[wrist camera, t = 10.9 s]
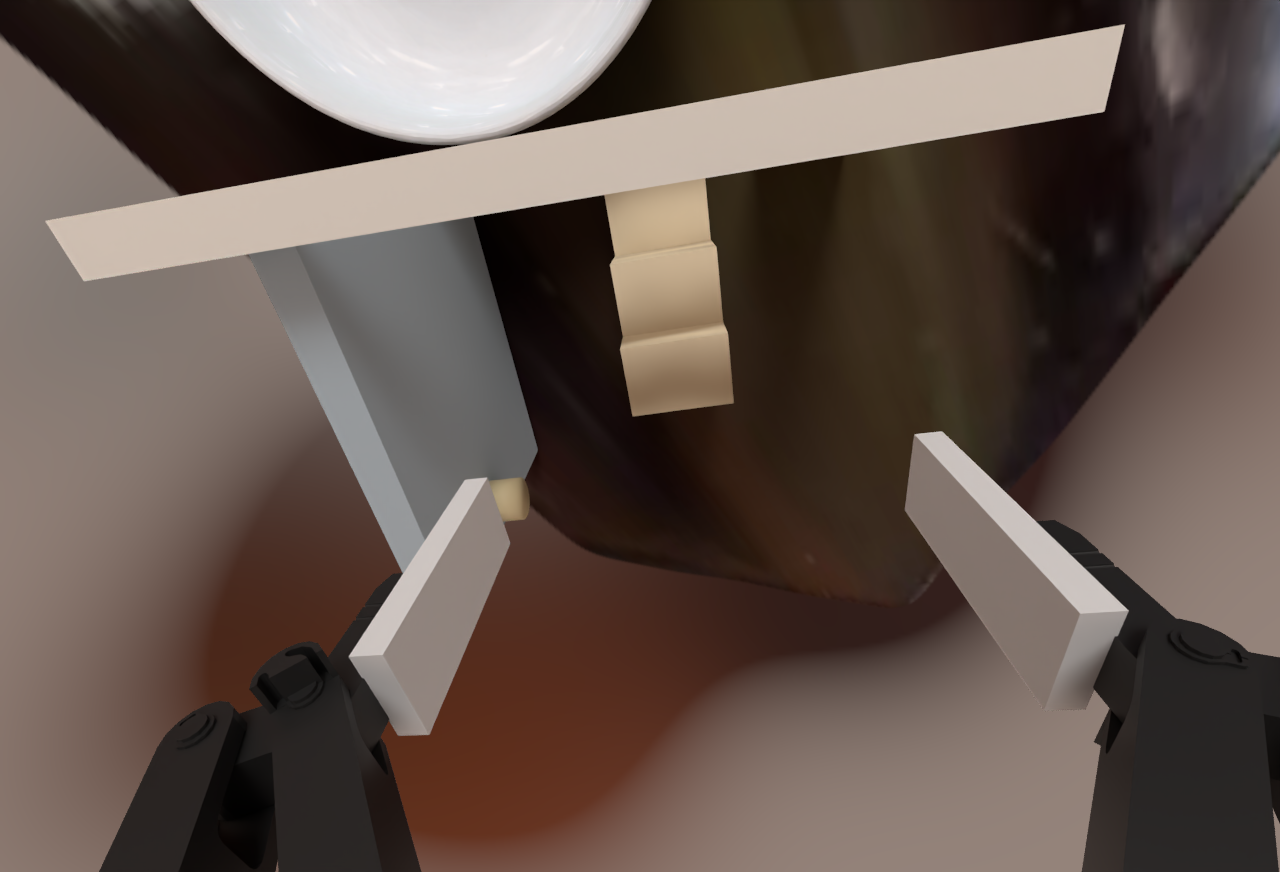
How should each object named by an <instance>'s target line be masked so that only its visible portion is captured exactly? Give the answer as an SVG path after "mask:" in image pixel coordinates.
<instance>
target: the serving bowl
mask: <svg viewBox="0 0 1280 872" xmlns="http://www.w3.org/2000/svg"><path fill="white" fill-rule="evenodd" d="M189 1H190V2H191V3H192V4H193V5H194V7H195V8H196V9H197V10H198V11H199V12H200V13H201V14H202V16H203V17H204V18H205V19H206V20H207V21H208V22H209V23H210V24H211V25H212V26H213V27H214V28H215V29H216V30H217V31H218V32H219V33H220V34H221V35H222V36H223V37H224V38H225V39H226V40H227V41H228V42H229V43H230V44H231V45H232V46H233V47H234V48H235V49H236V50H237V51H238V52H239V53H240V54H241V55H242V56H243V57H245V58H246V59H247V60H248V61H249V62H251V63H252V64H253V65H254V66H255V67H257V68H258V69H259V70H260V71H261V72H263V73H264V74H265V75H266V76H268V77H269V78H270V79H271V80H272V81H274V82H275V83H277V84H278V85H280V86H281V87H282V88H284V89H285V90H287V91H288V92H289V93H291V94H292V95H294V96H295V97H297V98H299V99H300V100H302V101H303V102H305V103H307V104H308V105H310V106H311V107H313V108H315V109H317V110H319V111H321V112H322V113H324V114H326V115H328V116H331V117H333V118H335V119H337V120H339V121H341V122H343V123H345V124H348V125H350V126H352V127H355V128H358V129H360V130H363V131H366V132H369V133H372V134H375V135H379V136H383V137H387V138H391V139H395V140H399V141H404V142H411V143H418V144H428V145H461V144H471V143H476V142H482V141H487V140H493V139H497V138H500V137H504V136H508V135H511V134H513V133H516V132H519V131H521V130H524V129H526V128H528V127H530V126H533V125H535V124H537V123H539V122H540V121H542V120H544V119H546V118H547V117H549V116H551V115H553V114H554V113H556V112H557V111H559V110H560V109H562V108H563V107H565V106H566V105H567V104H569V103H570V102H571V101H573V100H574V99H575V98H577V97H578V96H579V95H580V94H581V93H582V92H584V91H585V90H586V89H587V88H588V87H589V86H590V85H591V84H592V83H593V82H594V81H595V80H596V79H597V78H598V77H599V76H600V75H601V74H602V73H603V72H604V70H605V69H606V68H607V67H608V66H609V65H610V63H611V62H612V61H613V60H614V59H615V57H616V56H617V55H618V53H619V52H620V51H621V49H622V48H623V47H624V45H625V44H626V42H627V41H628V40H629V38H630V37H631V35H632V33H633V32H634V30H635V29H636V27H637V26H638V24H639V22H640V20H641V19H642V17H643V15H644V13H645V12H646V10H647V8H648V6H649V5H650V2H651V0H189Z"/></svg>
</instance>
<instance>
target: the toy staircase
mask: <svg viewBox="0 0 1280 872" xmlns="http://www.w3.org/2000/svg"><path fill="white" fill-rule="evenodd" d="M604 196H605V202H606V207H607V213H608V219H609V224H610V230H611V236H612V241H613V247H614V253H615V257H614V259H613V260H612V262H611V264H610V268H611V274H612V279H613V285H614V290H615V296H616V301H617V307H618V312H619V318H620V323H621V329H622V334H623V339H622V343H621V347H620V351H621V357H622V362H623V367H624V373H625V378H626V383H627V389H628V394H629V399H630V405H631V410H632V415H633V416H640V415H648V414H655V413H663V412H670V411H678V410H685V409H693V408H701V407H708V406H716V405H723V404H731V403H734V401H733V388H732V376H731V364H730V352H729V340H728V332H727V330H726V328H725V325H724V323H723V316H722V304H721V293H720V281H719V270H718V258H717V247H716V246H715V245H714V243H713V242H712V241H711V238H710V227H709V216H708V205H707V194H706V183H705V178H703V179H697V180H691V181H685V182H679V183H673V184H667V185H661V186H655V187H649V188H643V189H636V190H630V191H624V192H618V193H612V194H606V195H604Z"/></svg>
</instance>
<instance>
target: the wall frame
mask: <svg viewBox="0 0 1280 872" xmlns="http://www.w3.org/2000/svg"><path fill="white" fill-rule="evenodd" d="M1124 26H1125V24H1124V25H1119V26H1113V27H1108V28H1102V29H1097V30H1091V31H1086V32H1080V33H1075V34H1069V35H1064V36H1058V37H1053V38H1047V39H1042V40H1036V41H1031V42H1025V43H1020V44H1015V45H1009V46H1004V47H998V48H993V49H987V50H982V51H976V52H971V53H965V54H960V55H954V56H949V57H943V58H938V59H932V60H927V61H921V62H916V63H910V64H905V65H899V66H894V67H888V68H883V69H877V70H872V71H866V72H861V73H855V74H850V75H844V76H839V77H833V78H828V79H822V80H817V81H811V82H806V83H800V84H795V85H789V86H784V87H778V88H773V89H767V90H762V91H756V92H751V93H745V94H740V95H734V96H729V97H723V98H718V99H712V100H707V101H701V102H696V103H690V104H685V105H679V106H674V107H668V108H663V109H657V110H652V111H646V112H641V113H635V114H630V115H624V116H619V117H614V118H608V119H603V120H597V121H592V122H586V123H581V124H575V125H570V126H564V127H559V128H553V129H548V130H542V131H537V132H531V133H526V134H520V135H515V136H509V137H504V138H498V139H493V140H487V141H482V142H476V143H471V144H465V145H460V146H454V147H449V148H443V149H438V150H432V151H427V152H421V153H416V154H410V155H405V156H399V157H394V158H388V159H383V160H377V161H372V162H366V163H361V164H355V165H350V166H344V167H339V168H333V169H328V170H322V171H317V172H311V173H306V174H300V175H295V176H289V177H284V178H278V179H273V180H267V181H262V182H256V183H251V184H245V185H240V186H234V187H229V188H224V189H218V190H213V191H207V192H202V193H196V194H191V195H185V196H180V197H174V198H169V199H163V200H158V201H152V202H147V203H141V204H136V205H130V206H125V207H119V208H114V209H108V210H103V211H97V212H92V213H86V214H81V215H75V216H70V217H64V218H59V219H53V220H49V221H45V222H46V223H47V225H48V226H49V228H50V229H51V231H52V232H53V234H54V236H55V237H56V239H57V240H58V242H59V243H60V245H61V247H62V248H63V250H64V251H65V253H66V254H67V256H68V257H69V259H70V261H71V262H72V264H73V265H74V267H75V268H76V270H77V271H78V273H79V274H80V276H81V278H82V279H83V281H88V280H95V279H100V278H106V277H113V276H119V275H124V274H131V273H137V272H143V271H149V270H155V269H161V268H167V267H173V266H179V265H185V264H191V263H197V262H203V261H209V260H215V259H221V258H227V257H233V256H239V255H245V254H251V253H257V252H263V251H269V250H275V249H281V248H287V247H293V246H299V245H305V244H312V243H318V242H324V241H330V240H336V239H342V238H348V237H354V236H360V235H366V234H372V233H378V232H384V231H390V230H396V229H402V228H408V227H414V226H420V225H426V224H432V223H438V222H444V221H450V220H456V219H462V218H468V217H474V216H480V215H486V214H492V213H498V212H504V211H510V210H516V209H522V208H528V207H534V206H540V205H546V204H552V203H558V202H564V201H570V200H576V199H582V198H588V197H594V196H600V195H606V194H612V193H618V192H624V191H630V190H636V189H643V188H649V187H655V186H661V185H667V184H673V183H679V182H685V181H691V180H697V179H703V178H709V177H715V176H721V175H727V174H733V173H739V172H745V171H751V170H757V169H763V168H769V167H775V166H781V165H787V164H793V163H799V162H805V161H811V160H817V159H823V158H829V157H835V156H841V155H847V154H853V153H859V152H865V151H871V150H877V149H883V148H889V147H895V146H901V145H907V144H913V143H919V142H925V141H931V140H937V139H943V138H949V137H955V136H961V135H968V134H974V133H980V132H986V131H992V130H998V129H1004V128H1010V127H1016V126H1022V125H1028V124H1034V123H1040V122H1046V121H1052V120H1058V119H1064V118H1070V117H1076V116H1082V115H1088V114H1094V113H1100V112H1104V111H1105V107H1106V102H1107V98H1108V94H1109V90H1110V86H1111V81H1112V77H1113V73H1114V69H1115V64H1116V60H1117V56H1118V52H1119V48H1120V43H1121V39H1122V35H1123V31H1124Z"/></svg>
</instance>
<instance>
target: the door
mask: <svg viewBox="0 0 1280 872" xmlns="http://www.w3.org/2000/svg"><path fill="white" fill-rule="evenodd" d="M249 256H250V259H251V261H252V263H253V265H254V267H255V269H256V271H257V273H258V275H259V277H260V279H261V281H262V283H263V285H264V287H265V289H266V291H267V294H268V296H269V298H270V300H271V302H272V304H273V306H274V308H275V310H276V312H277V314H278V316H279V318H280V320H281V322H282V325H283V327H284V329H285V331H286V333H287V335H288V337H289V339H290V341H291V343H292V345H293V347H294V349H295V351H296V354H297V356H298V358H299V360H300V362H301V364H302V366H303V368H304V370H305V372H306V374H307V376H308V378H309V380H310V382H311V385H312V387H313V389H314V391H315V393H316V395H317V396H318V399H319V401H320V403H321V405H322V407H323V409H324V411H325V413H326V415H327V418H328V419H329V422H330V424H331V426H332V428H333V430H334V432H335V434H336V436H337V438H338V440H339V442H340V444H341V446H342V448H343V451H344V453H345V454H346V457H347V459H348V461H349V463H350V465H351V467H352V469H353V471H354V473H355V475H356V477H357V479H358V482H359V484H360V486H361V488H362V490H363V492H364V494H365V496H366V498H367V500H368V502H369V504H370V506H371V508H372V510H373V512H374V515H375V516H376V518H377V521H378V523H379V525H380V527H381V529H382V531H383V533H384V535H385V537H386V539H387V541H388V543H389V545H390V548H391V550H392V552H393V554H394V556H395V558H396V560H397V562H398V564H399V566H400V568H401V570H402V572H403V573H404V572H405V570H406V569H407V567H408V566H409V564H410V563H411V561H412V560H413V558H414V556H415V555H416V553H417V552H418V550H419V549H420V547H421V546H422V544H423V543H424V541H425V540H426V538H427V537H428V535H429V534H430V532H431V531H432V529H433V528H434V526H435V525H436V523H437V522H438V520H439V519H440V517H441V515H442V514H443V512H444V511H445V509H446V508H447V506H448V505H449V503H450V502H451V500H452V499H453V497H454V496H455V494H456V493H457V491H458V490H459V488H460V487H461V485H462V484H463V482H464V481H465V480H467V479H477V478H488V480H489V483H490V486H491V489H492V492H493V495H494V498H495V501H496V503H497V506H498V509H499V512H500V515H501V518H502V521H503V523H504V524H505V522H506V521H513V520H524V519H526V518H527V516H528V513H529V507H530V498H529V491H528V487H527V484H526V482H525V478H526V476H527V473H528V471H529V469H530V467H531V465H532V462H533V460H534V458H535V456H536V454H537V451H538V448H537V445H536V441H535V438H534V434H533V430H532V427H531V423H530V420H529V416H528V412H527V409H526V405H525V402H524V398H523V394H522V391H521V387H520V384H519V380H518V376H517V373H516V369H515V366H514V362H513V358H512V355H511V351H510V348H509V344H508V340H507V337H506V333H505V330H504V326H503V322H502V319H501V315H500V312H499V308H498V304H497V301H496V297H495V294H494V290H493V287H492V283H491V279H490V276H489V272H488V269H487V265H486V261H485V258H484V254H483V251H482V247H481V243H480V240H479V236H478V233H477V229H476V225H475V222H474V218H473V217H468V218H462V219H456V220H450V221H444V222H438V223H432V224H426V225H420V226H414V227H408V228H402V229H396V230H390V231H384V232H378V233H372V234H366V235H360V236H354V237H348V238H342V239H336V240H330V241H324V242H318V243H312V244H305V245H299V246H293V247H287V248H281V249H275V250H269V251H263V252H257V253H251V254H249Z"/></svg>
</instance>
